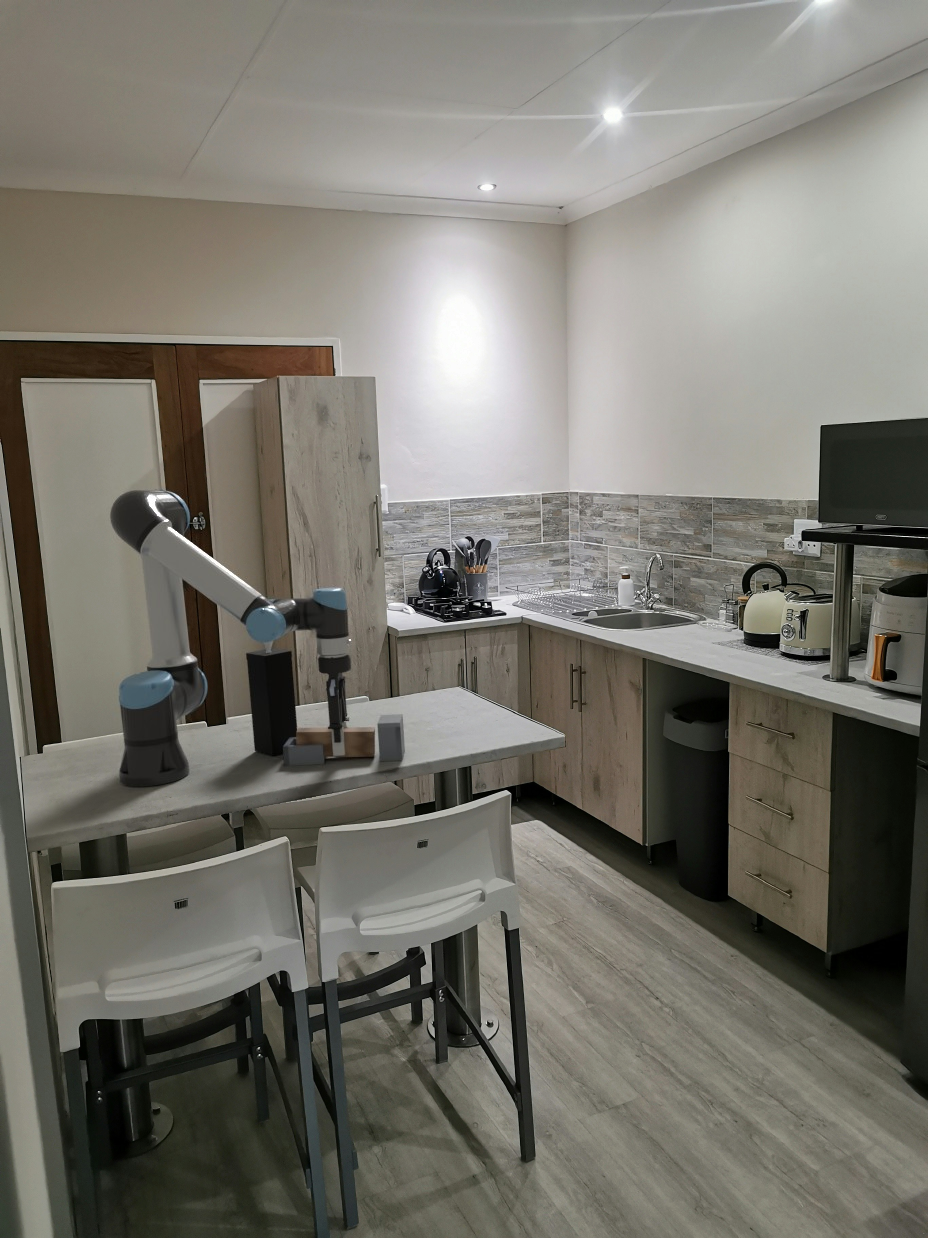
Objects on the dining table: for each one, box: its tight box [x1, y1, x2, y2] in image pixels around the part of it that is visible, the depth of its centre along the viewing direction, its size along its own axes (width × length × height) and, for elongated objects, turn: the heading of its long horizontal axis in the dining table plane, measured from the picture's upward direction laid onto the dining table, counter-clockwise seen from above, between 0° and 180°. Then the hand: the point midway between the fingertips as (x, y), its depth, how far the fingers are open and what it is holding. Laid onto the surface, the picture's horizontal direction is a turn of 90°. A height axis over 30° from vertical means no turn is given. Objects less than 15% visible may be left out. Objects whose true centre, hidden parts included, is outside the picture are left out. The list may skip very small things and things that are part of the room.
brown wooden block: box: [296, 726, 376, 758], centre depth 216 cm, size 18×4×6 cm, turn 93°
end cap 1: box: [282, 737, 325, 767], centre depth 217 cm, size 9×8×4 cm
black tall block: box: [245, 641, 298, 757], centre depth 225 cm, size 8×8×28 cm
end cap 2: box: [376, 713, 406, 762], centre depth 216 cm, size 5×8×9 cm, turn 179°
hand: (340, 752), depth 217 cm, fingers closed on brown wooden block, 4 cm apart
